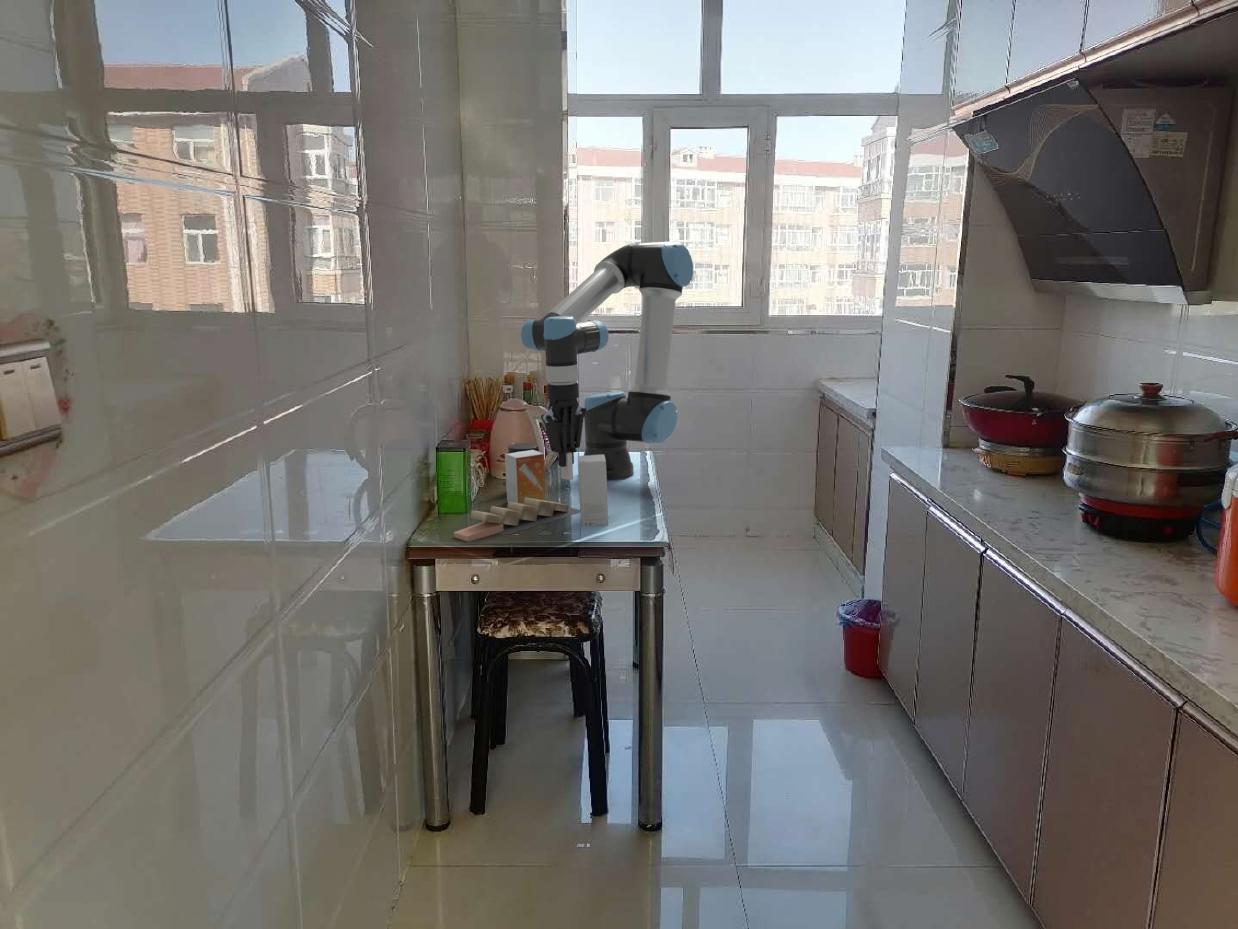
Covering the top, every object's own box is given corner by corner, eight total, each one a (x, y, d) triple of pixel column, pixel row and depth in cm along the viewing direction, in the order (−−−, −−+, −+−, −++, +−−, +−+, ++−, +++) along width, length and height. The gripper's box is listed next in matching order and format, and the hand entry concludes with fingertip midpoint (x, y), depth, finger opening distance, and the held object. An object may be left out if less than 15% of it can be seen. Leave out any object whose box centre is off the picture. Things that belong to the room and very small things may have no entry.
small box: (518, 509, 230) (515, 457, 227) (506, 503, 235) (503, 453, 232) (546, 503, 235) (544, 453, 232) (534, 498, 240) (532, 449, 237)
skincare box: (609, 527, 213) (607, 461, 209) (580, 528, 213) (577, 462, 209) (607, 517, 221) (605, 453, 218) (579, 518, 221) (577, 454, 217)
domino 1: (489, 519, 213) (453, 532, 206) (502, 523, 210) (467, 536, 203) (490, 526, 214) (454, 539, 207) (503, 530, 210) (468, 543, 203)
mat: (556, 506, 232) (556, 504, 231) (584, 513, 225) (584, 510, 225) (476, 529, 214) (476, 526, 214) (504, 537, 207) (504, 535, 207)
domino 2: (505, 515, 217) (471, 510, 209) (519, 519, 213) (485, 514, 206) (504, 521, 217) (470, 517, 209) (517, 525, 213) (484, 521, 206)
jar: (547, 490, 248) (545, 446, 245) (521, 495, 243) (518, 450, 240) (529, 484, 255) (527, 441, 252) (504, 489, 250) (501, 445, 247)
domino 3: (523, 510, 221) (491, 506, 213) (537, 514, 217) (504, 509, 210) (522, 517, 221) (489, 512, 213) (535, 521, 217) (503, 516, 210)
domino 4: (539, 506, 224) (508, 501, 217) (553, 510, 221) (522, 505, 213) (538, 512, 224) (506, 508, 217) (552, 516, 221) (520, 512, 213)
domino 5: (555, 502, 228) (524, 497, 220) (569, 505, 224) (538, 500, 217) (553, 508, 228) (523, 504, 220) (567, 512, 224) (537, 507, 217)
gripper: (571, 377, 228) (576, 471, 233) (531, 384, 218) (536, 481, 224) (593, 380, 222) (597, 475, 228) (552, 387, 213) (557, 486, 219)
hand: (567, 478), depth 226 cm, fingers closed
